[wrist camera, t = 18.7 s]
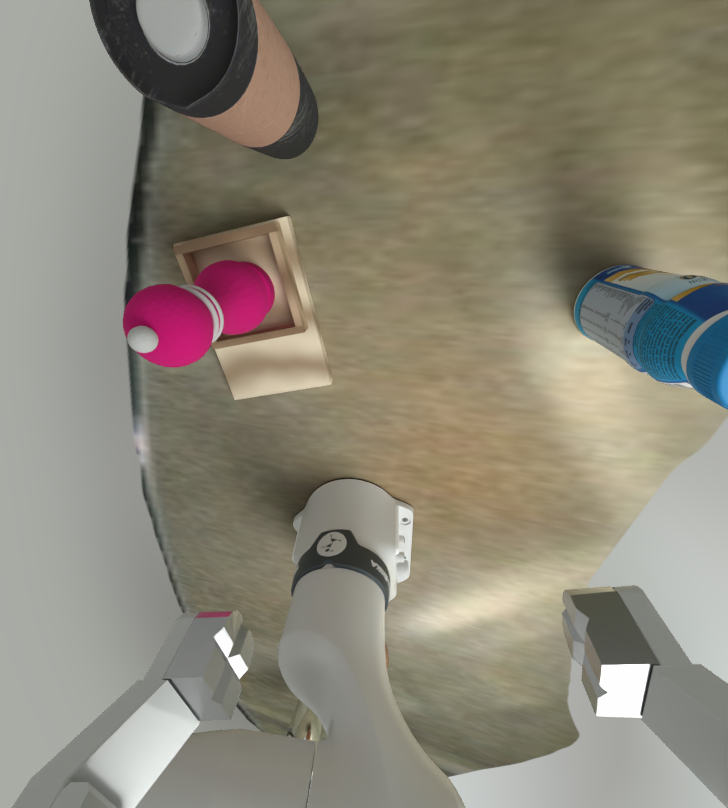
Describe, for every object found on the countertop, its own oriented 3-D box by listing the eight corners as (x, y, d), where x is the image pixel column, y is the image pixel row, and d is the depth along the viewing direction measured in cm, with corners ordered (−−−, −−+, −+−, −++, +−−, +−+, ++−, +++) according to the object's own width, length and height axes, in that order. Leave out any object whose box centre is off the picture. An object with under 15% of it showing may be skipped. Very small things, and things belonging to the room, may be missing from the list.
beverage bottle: (554, 303, 41) (676, 368, 23) (627, 244, 38) (834, 265, 20) (596, 355, 43) (738, 451, 25) (669, 303, 40) (889, 371, 22)
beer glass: (338, 682, 78) (325, 777, 65) (316, 692, 81) (300, 786, 67) (313, 666, 76) (295, 761, 63) (292, 678, 79) (270, 771, 65)
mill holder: (333, 379, 47) (328, 391, 44) (239, 395, 49) (228, 407, 46) (290, 216, 39) (280, 216, 36) (180, 243, 41) (162, 244, 38)
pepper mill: (209, 305, 43) (72, 365, 25) (226, 244, 39) (85, 262, 22) (267, 333, 43) (176, 411, 26) (289, 276, 40) (202, 319, 22)
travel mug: (291, 42, 33) (164, -171, 15) (336, 131, 36) (275, 41, 18) (226, 99, 35) (49, -28, 17) (274, 179, 38) (163, 142, 20)
